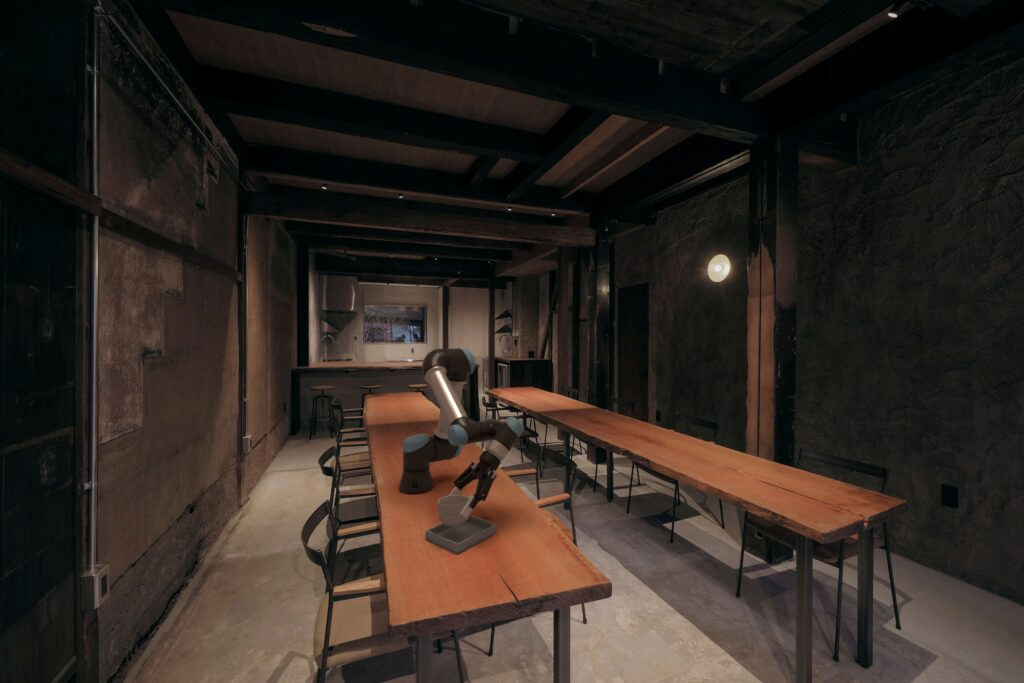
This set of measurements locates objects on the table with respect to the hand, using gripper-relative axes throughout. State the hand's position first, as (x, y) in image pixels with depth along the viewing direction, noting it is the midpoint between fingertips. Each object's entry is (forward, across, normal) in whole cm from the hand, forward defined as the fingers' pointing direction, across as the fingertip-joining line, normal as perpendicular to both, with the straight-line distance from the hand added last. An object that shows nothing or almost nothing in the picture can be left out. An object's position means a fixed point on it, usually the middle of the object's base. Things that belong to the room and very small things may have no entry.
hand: (454, 510), depth 140 cm
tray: (+5, 0, -9) cm, 10 cm away
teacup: (+2, 0, -4) cm, 4 cm away
